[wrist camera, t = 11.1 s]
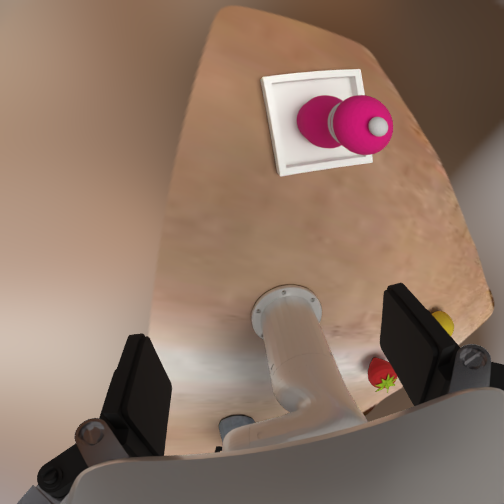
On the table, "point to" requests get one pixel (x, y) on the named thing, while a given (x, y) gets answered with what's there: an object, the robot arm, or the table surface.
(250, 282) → the table surface
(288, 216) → the table surface
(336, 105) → the pepper mill
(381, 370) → the strawberry
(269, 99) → the tray
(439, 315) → the lemon
